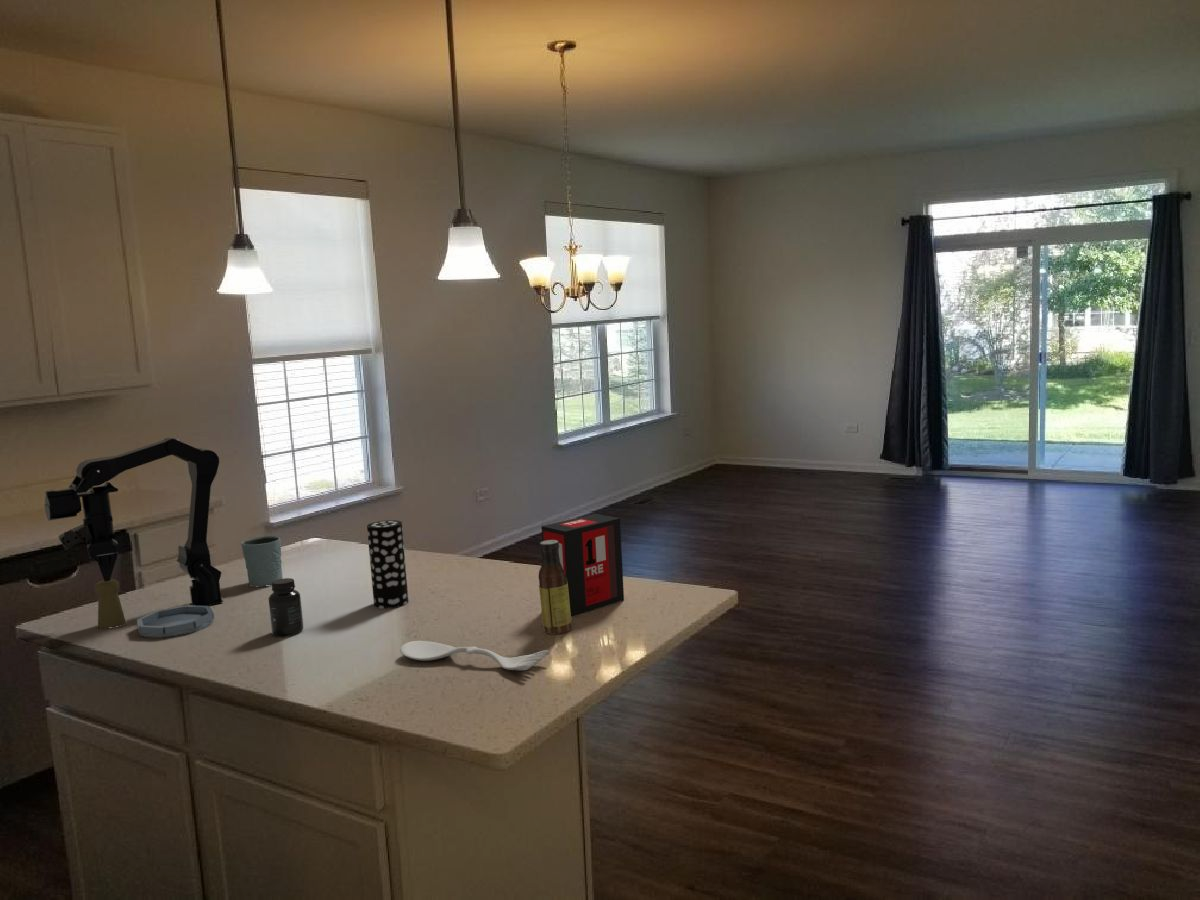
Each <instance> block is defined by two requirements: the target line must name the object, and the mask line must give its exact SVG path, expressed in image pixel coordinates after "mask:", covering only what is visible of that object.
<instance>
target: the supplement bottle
mask: <svg viewBox="0 0 1200 900" xmlns="http://www.w3.org/2000/svg"><path fill="white" fill-rule="evenodd" d="M295 588H296V585H295V580H294V578H291V577H286V578H282V579H278V580H275V581H273V582H272V586H271V591H272V593H271V594H270V595H269V597H268V609H269V616H270V617H269V618H270V625H271V626H270V627H271V633H272V635H273V636H274V637H277V636H278V637H280V638H285V637H286V636H287V637H291V636H296V635H299V634H300V633H302V631H303V630H304V619H303V609H302V599H301V593H300V592H299V591H298V590H296V589H295Z"/></svg>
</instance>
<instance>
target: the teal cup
mask: <svg viewBox="0 0 1200 900" xmlns="http://www.w3.org/2000/svg"><path fill="white" fill-rule="evenodd" d="M281 543H282V542H281V537H280V536H275V535H270V536H269V535H267V536H265V535H264V536H259V537H253V538H248V539H246V540H244V541H243V540H242V542H241V543H240V545H241V549H242V555H243V559H244V561H245V569H246V570H247V571H246V572H247V578H248V579H247V580H248V584H249V586H250V585H252V586H266V585H272V582H273V581H275V580H278V579H283V570H282V569H283V568H282V562H283V561H282V558H281V557H282V547H281V545H282V544H281Z"/></svg>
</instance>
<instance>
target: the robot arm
mask: <svg viewBox="0 0 1200 900" xmlns="http://www.w3.org/2000/svg"><path fill="white" fill-rule="evenodd" d="M168 456H174V457H175V458H178V459H180V460H182V461H185V462H187V466H188V467H187V468H188V469H187V470H188V474H189V478H190V483H191V490H190V492H191V494H190V507H189V518H188V519H189V520H188V530H187V539H186V542H185V543H184V545H183V546H182V545H178V547H177V548H178V549H177V550H178V557H177V559H176V562H177V563H178V565H179V568H180V569H181V571H183V572H184V573H185V574H187V575H188V576H189V578H190V579H191V580H190V582H191V585H190V586H189V595H190V602H191V605H194V606H212V605H218V604H222V602H223V603H224V600H223V598H222V593H221V585H220V581H221V577H222V571H220V570H219V569H218V568H216V567H215V566H213V565H212V563H211V552H210V550H209V549H210V548H209V545H208V542H207V540H208V539H207V536H208V527H209V526H208V525H209V515H210V514H209V513H210V501H211V490H212V489H211V488H212V484H213V482H214V481H215V479H216V476H217V473H218V469H219V464H220V457H219V455H218V454H217V453H216V452H215V451H213V450H210V449H206V448H201V447H200V448H197V447H195V446H192V445H190V444H187V443H185V442H182V441H180V440H179V439H178V438H174V437H166V438H164V439H162V440H159V441H157V442H154V443H151V444H148V445H145V446H142V447H138V448H135V449H132V450H130V451H129V450H128V451H127V452H123V453H120V454H118V455H112V456H103V457H102V456H101V457H97V458H90V459H85V460H83V461H81V462H79V464H77V467H76V473H75V474H76V475H75V477H74V478H73V480H72V481H71V483H70V484H69V487H68V488H64V489H56V490H55V489H50V490H46V491H45V492H44V493H45V498H44V504H43V505H44V510H45V517H46V518H47V520H48V521H49V522H50V521H54V520H55V521H56V520H62V519H67V518H73V517H77V516H78V514H79V513H80V512H82V511H83V519H82V521H83V524H81V525H78V526H75V527H74V528H70V529H69V530H67V531H64V532H62V533H61V534H59V535H58V539H59V541H60V543H61V544H62V546H63V547H64V549H65V550H66V551H67V550H70V549H72V548H73V547H74V546H76V545H78V544H80V543H82V542H84V541H85V543H86V548H87V554H88V555H87V556H88V557H89V559H92V560H93V561H95V562H96V563H97V565H98V568H99V570H100V572H101V576H102V580H104V581H105V582H106V581H110V579H111V578H112V574H113V571H114V568H115V565H116V562H117V560H118V559H117V558H118V555H119V552H120V551H119V549H120V548H119V543H118V541H117V540H116V536H115V530H114V520H113V515H112V514H113V513H112V507H111V500H110V498H111V497H110V493H116V492H118V491H119V488H117V487H116V486H114V485H113V484H112V483H111V482H109V481H111V480H113V479H115V478H116V477H118V476H119V475H120V474H122V473H124V472H126V471H128V470H131V469H134V468H137V467H140V466H143V465H146V464H148V463H152V462H154V461H158V460H161V459H164V458H165V457H168ZM103 484H104V485H103ZM81 501H82V502H81Z"/></svg>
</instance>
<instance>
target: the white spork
mask: <svg viewBox="0 0 1200 900" xmlns="http://www.w3.org/2000/svg"><path fill="white" fill-rule="evenodd" d="M399 652H400V654H402V655H403V656H405V657H406V658H409V659H412V660H414V661H415V660H417V661H421V662H423V661H424V662H426V661H436V660H439V659H443V658H446V657H449V656H452V655H454V654H459V653H460V654H461V653H465V654H467V655H471V654H473V655H474V654H475V655H476V654H477V655H483V656H487V657H489V658H490V659H492V660H494V661H495V662H496V663H497V664H498V665H499V666H500V667H501V668H502V669H504V670H508V671H520V672H521V671H528V670H529V669H530V668H533V667H534V665H536V664H538V662H540V661H542V660H543V659H544V658H545V657H546V656H548V655H550V651H549V650H547V649H546V650H545V649H544V650H541V651H538V652H534V653H532V654H525V655H519V656H514V657H505V656H502V655H500V654H498V653H496V652H494V651H491V650H489V649H485V648H479V647H477V646H459V647H455V646H451V645H449V644H444V643H440V642H435V641H429V640H428V641H427V640H412V641H408V642H405V643H403V644H402V645H401V646H400V648H399Z"/></svg>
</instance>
